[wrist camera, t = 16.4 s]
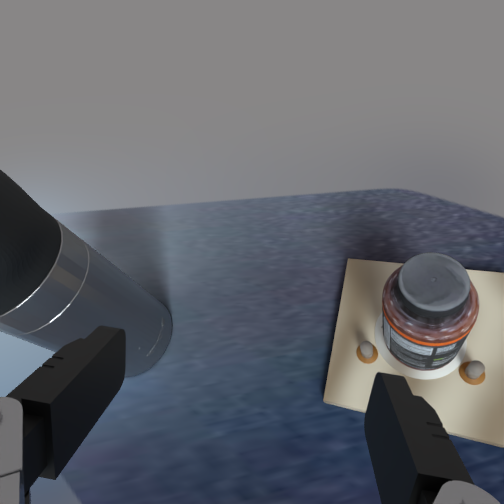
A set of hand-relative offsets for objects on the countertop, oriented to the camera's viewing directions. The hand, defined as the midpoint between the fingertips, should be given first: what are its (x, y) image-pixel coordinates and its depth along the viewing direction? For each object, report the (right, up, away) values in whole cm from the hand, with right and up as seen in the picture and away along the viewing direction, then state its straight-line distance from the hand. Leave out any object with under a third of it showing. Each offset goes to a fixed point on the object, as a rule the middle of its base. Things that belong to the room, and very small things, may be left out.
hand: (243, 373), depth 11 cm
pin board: (+15, -4, +21) cm, 26 cm away
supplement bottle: (+15, -4, +20) cm, 25 cm away
